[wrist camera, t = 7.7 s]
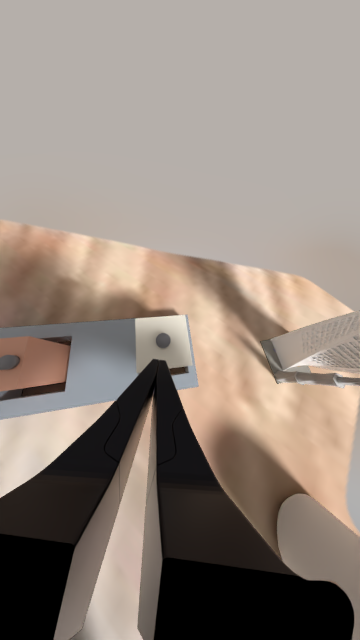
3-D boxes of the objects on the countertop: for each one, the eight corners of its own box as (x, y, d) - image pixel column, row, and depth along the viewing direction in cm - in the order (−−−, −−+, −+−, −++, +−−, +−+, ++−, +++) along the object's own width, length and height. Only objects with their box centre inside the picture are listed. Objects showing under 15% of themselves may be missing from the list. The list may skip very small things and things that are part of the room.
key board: (184, 320, 23) (187, 314, 20) (193, 384, 20) (198, 386, 17) (-110, 343, 17) (-161, 339, 14) (-166, 442, 14) (-244, 460, 11)
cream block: (176, 333, 19) (186, 312, 12) (180, 366, 18) (194, 365, 11) (144, 336, 18) (134, 316, 11) (145, 371, 17) (135, 373, 10)
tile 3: (74, 346, 19) (23, 334, 12) (69, 381, 18) (10, 390, 11) (37, 350, 18) (-40, 339, 11) (29, 386, 17) (-63, 400, 10)
